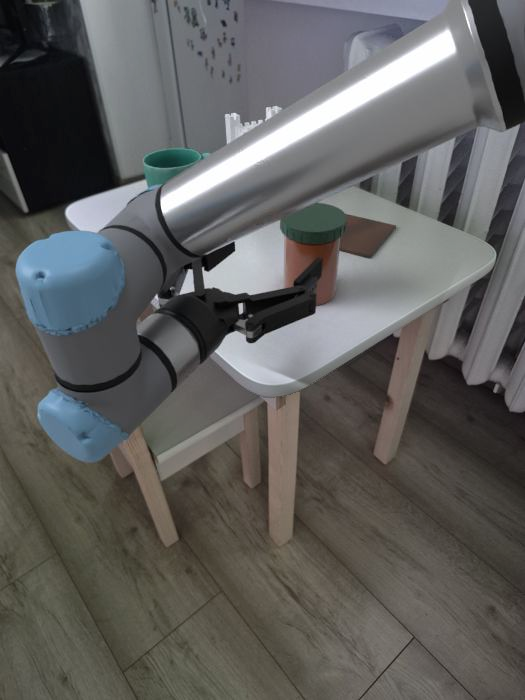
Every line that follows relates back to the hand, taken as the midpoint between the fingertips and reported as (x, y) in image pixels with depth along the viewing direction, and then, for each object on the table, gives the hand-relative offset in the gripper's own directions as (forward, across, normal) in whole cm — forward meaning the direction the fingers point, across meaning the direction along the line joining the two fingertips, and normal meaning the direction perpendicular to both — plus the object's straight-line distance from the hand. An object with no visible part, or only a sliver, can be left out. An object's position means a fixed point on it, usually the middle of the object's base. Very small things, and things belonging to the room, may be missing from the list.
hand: (274, 253), depth 65 cm
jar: (+12, 0, -13) cm, 17 cm away
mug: (+32, -42, -13) cm, 54 cm away
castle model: (+48, -30, -13) cm, 58 cm away
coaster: (+34, -2, -13) cm, 36 cm away
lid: (+12, 0, 0) cm, 12 cm away
